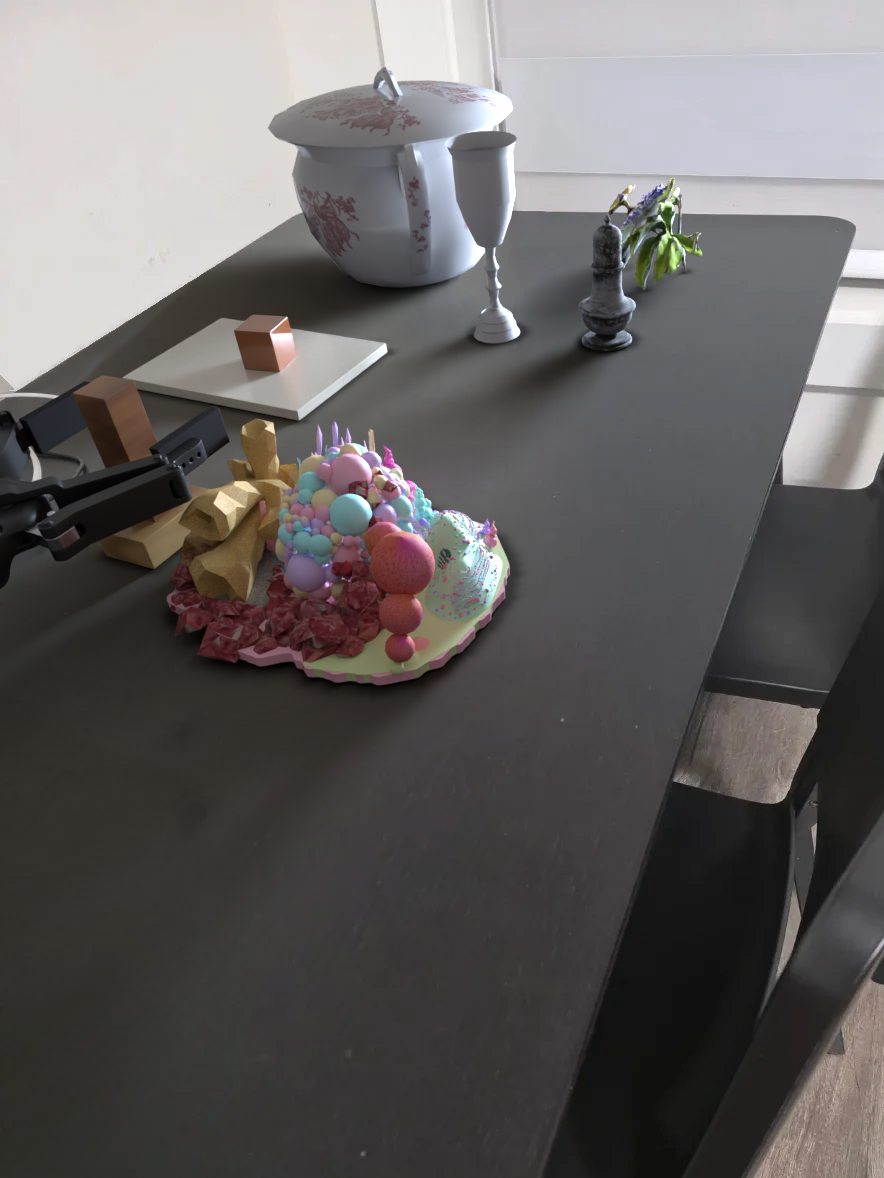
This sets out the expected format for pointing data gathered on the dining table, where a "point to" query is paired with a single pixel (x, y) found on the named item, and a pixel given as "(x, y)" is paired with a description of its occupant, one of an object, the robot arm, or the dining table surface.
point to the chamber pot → (388, 175)
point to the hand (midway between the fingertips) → (156, 410)
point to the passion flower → (648, 220)
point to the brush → (125, 439)
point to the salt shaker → (607, 294)
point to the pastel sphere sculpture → (332, 566)
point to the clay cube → (265, 343)
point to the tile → (220, 377)
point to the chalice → (487, 213)
